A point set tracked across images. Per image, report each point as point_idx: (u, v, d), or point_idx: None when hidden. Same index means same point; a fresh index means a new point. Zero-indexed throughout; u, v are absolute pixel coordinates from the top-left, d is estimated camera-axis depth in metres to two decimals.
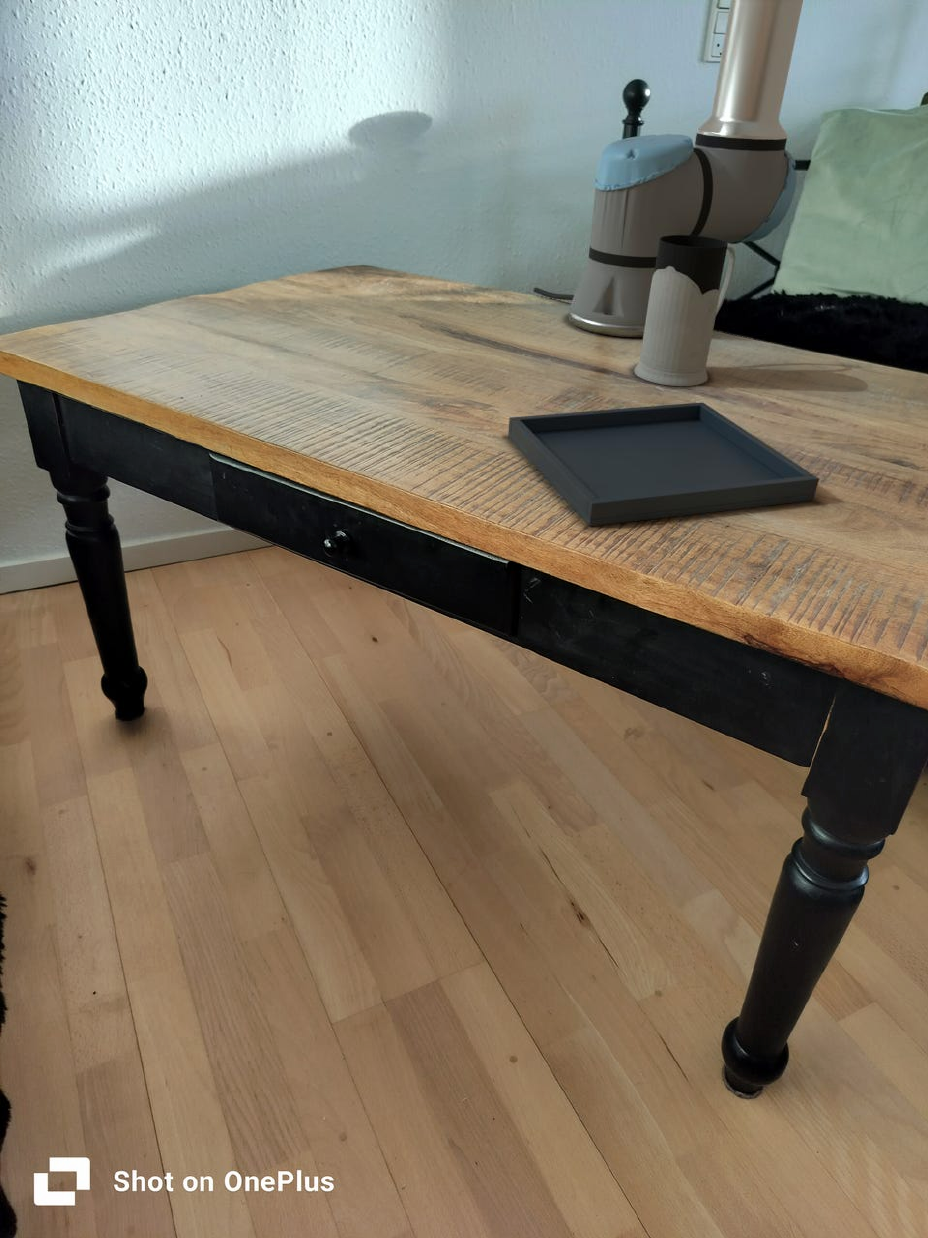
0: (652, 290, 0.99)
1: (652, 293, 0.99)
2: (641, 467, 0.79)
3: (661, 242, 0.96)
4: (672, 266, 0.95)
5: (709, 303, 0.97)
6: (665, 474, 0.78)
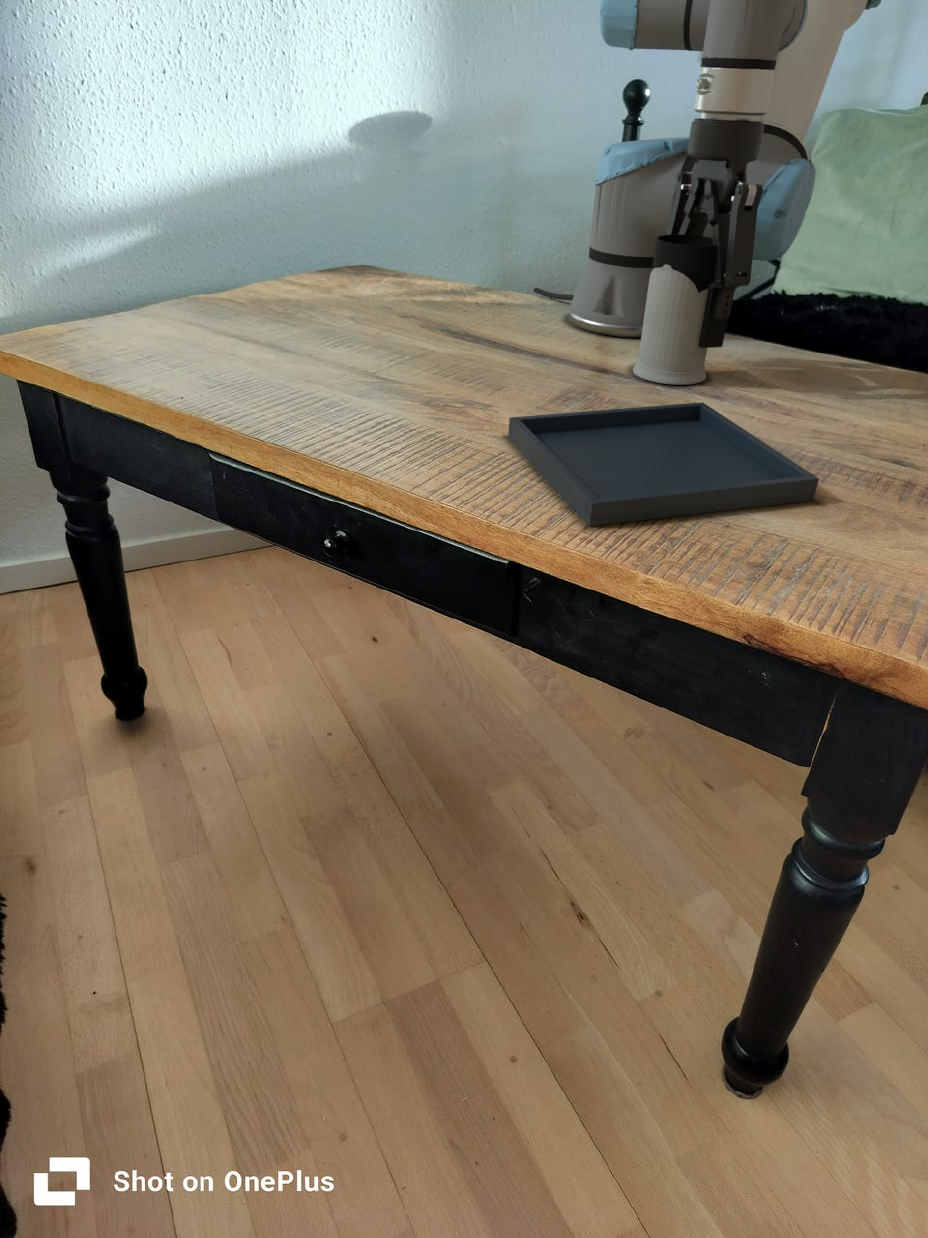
0: (649, 289, 0.99)
1: (649, 292, 0.99)
2: (641, 467, 0.79)
3: (658, 241, 0.96)
4: (669, 264, 0.96)
5: None
6: (665, 474, 0.78)
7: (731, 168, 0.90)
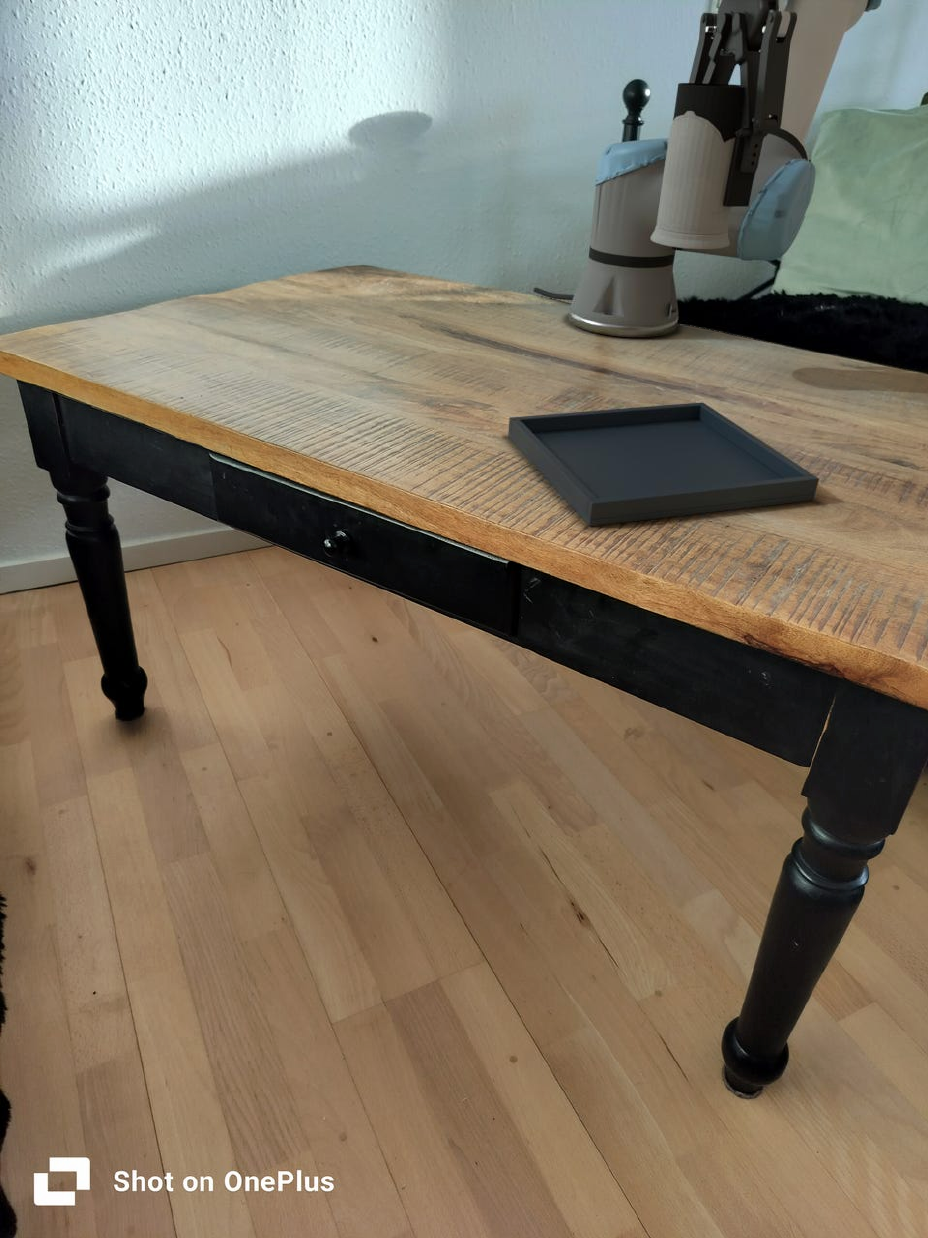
0: (670, 142, 0.92)
1: (670, 145, 0.92)
2: (641, 467, 0.79)
3: (680, 85, 0.89)
4: (692, 110, 0.88)
5: None
6: (665, 474, 0.78)
7: None
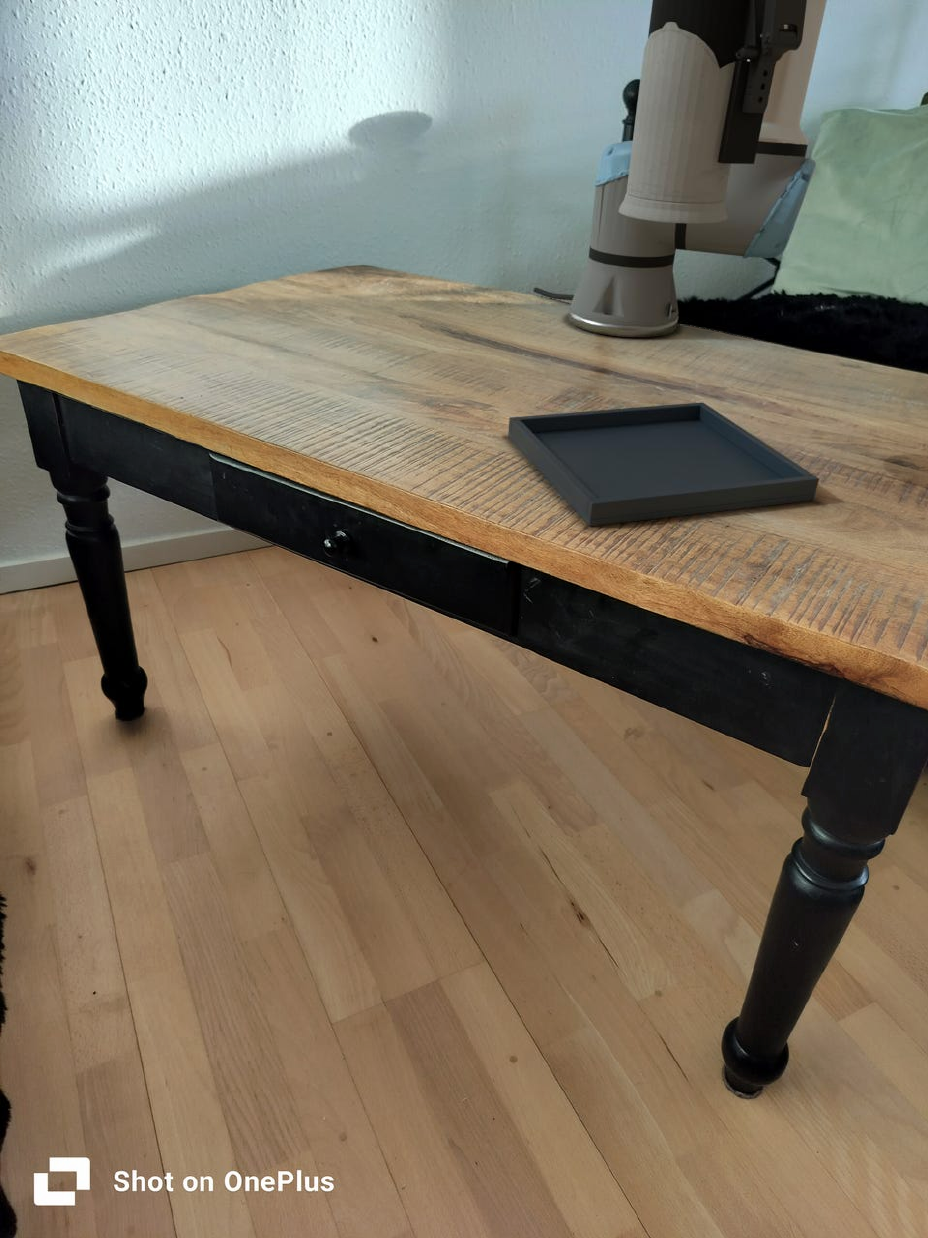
0: (643, 72, 0.65)
1: (643, 76, 0.65)
2: (641, 467, 0.79)
3: None
4: (674, 21, 0.61)
5: None
6: (665, 474, 0.78)
7: None
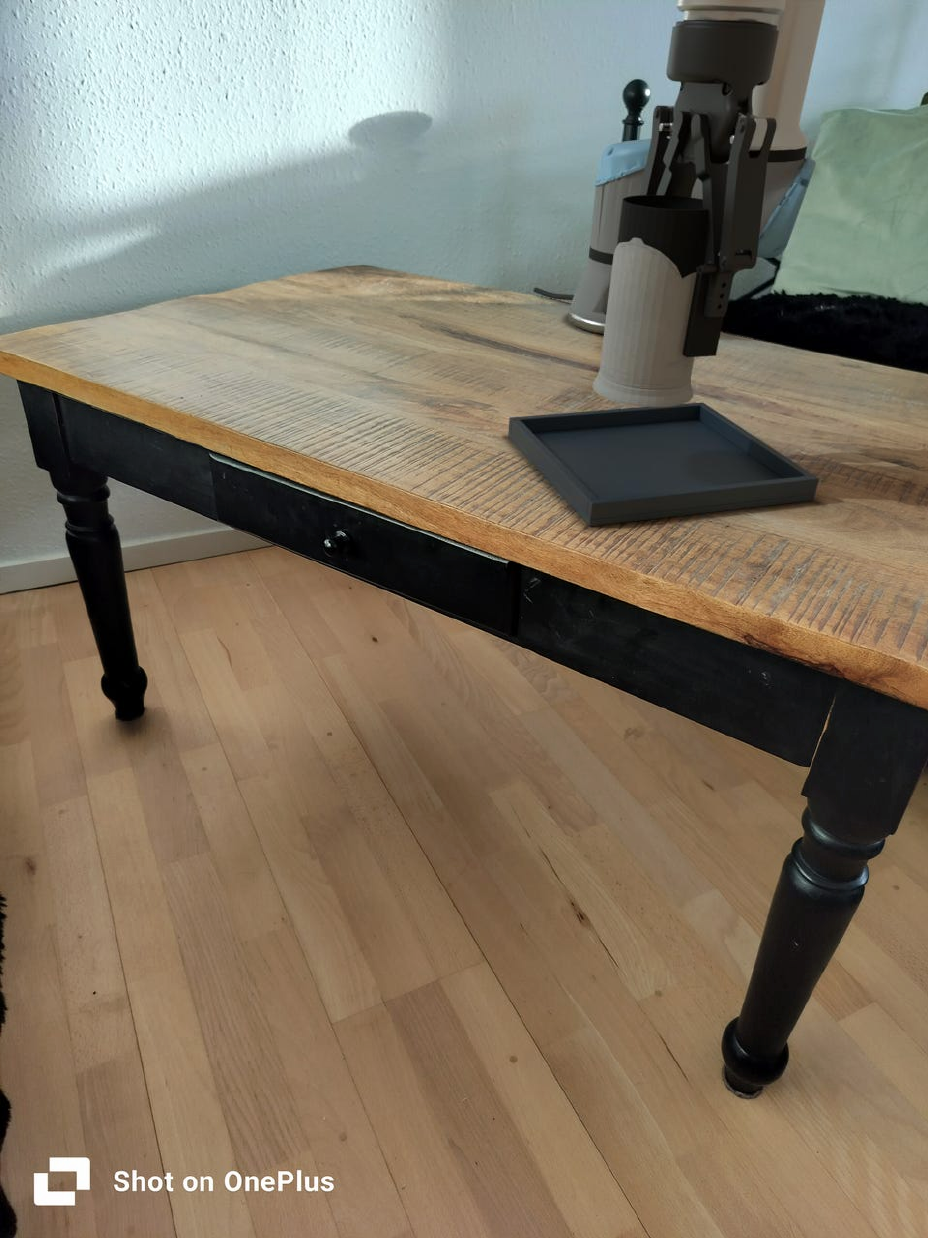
0: (613, 273, 0.70)
1: (613, 277, 0.70)
2: (641, 467, 0.79)
3: (624, 203, 0.67)
4: (639, 237, 0.66)
5: (693, 291, 0.68)
6: (665, 474, 0.78)
7: (730, 93, 0.61)
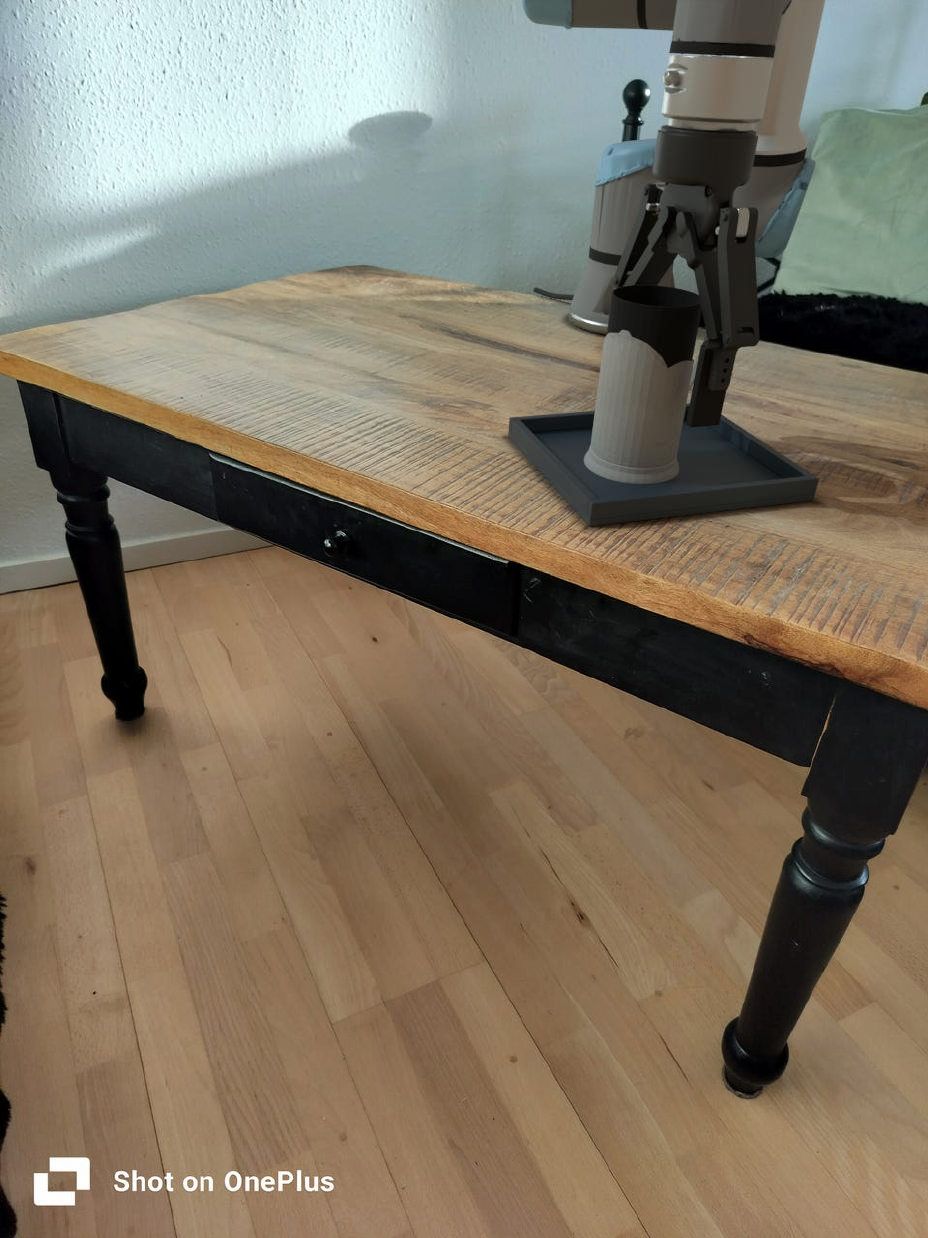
0: (603, 359, 0.74)
1: (603, 363, 0.74)
2: None
3: (613, 297, 0.71)
4: (628, 330, 0.70)
5: (678, 379, 0.72)
6: None
7: (712, 196, 0.65)
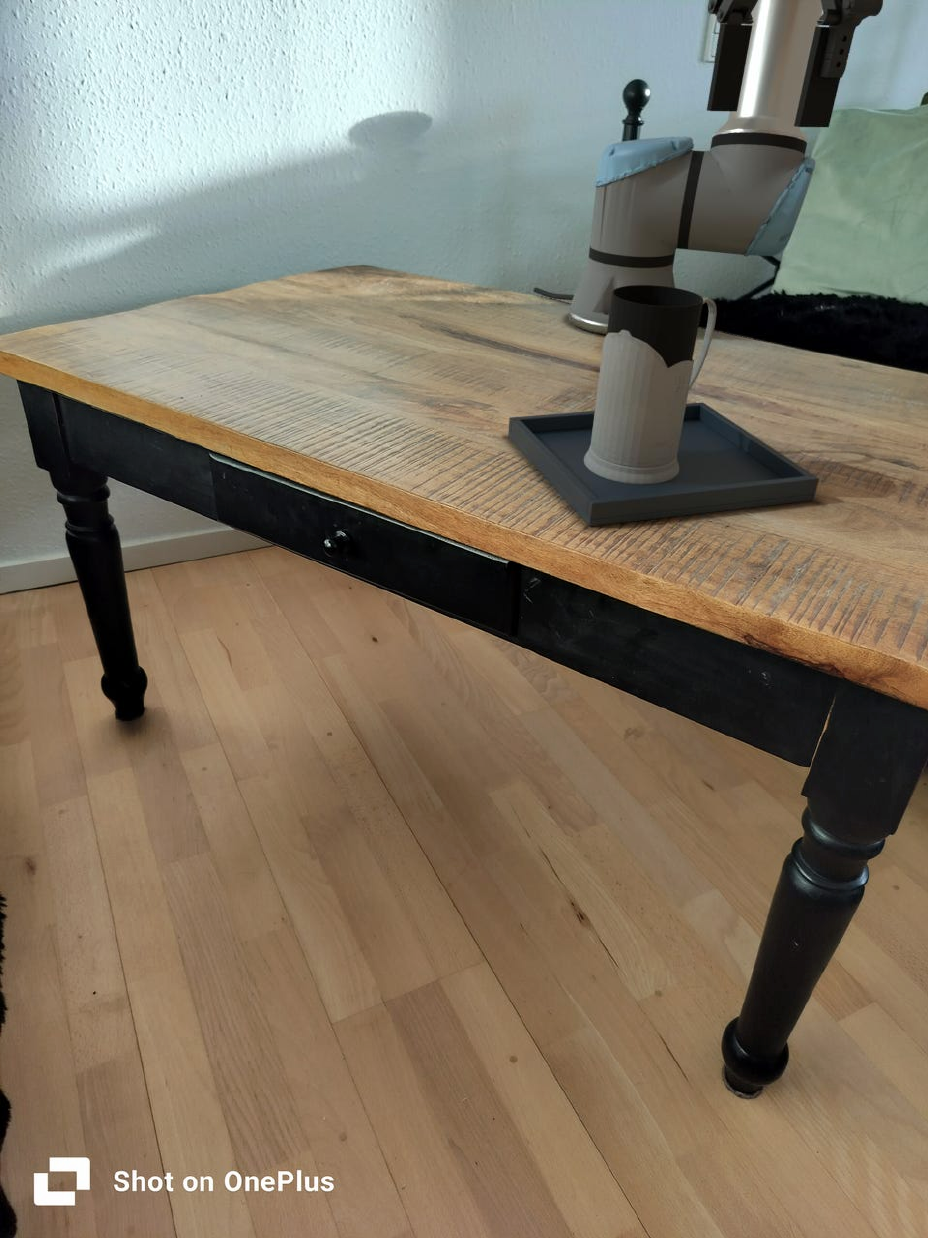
0: (603, 359, 0.74)
1: (603, 363, 0.74)
2: None
3: (613, 297, 0.71)
4: (628, 330, 0.70)
5: (678, 378, 0.72)
6: None
7: None
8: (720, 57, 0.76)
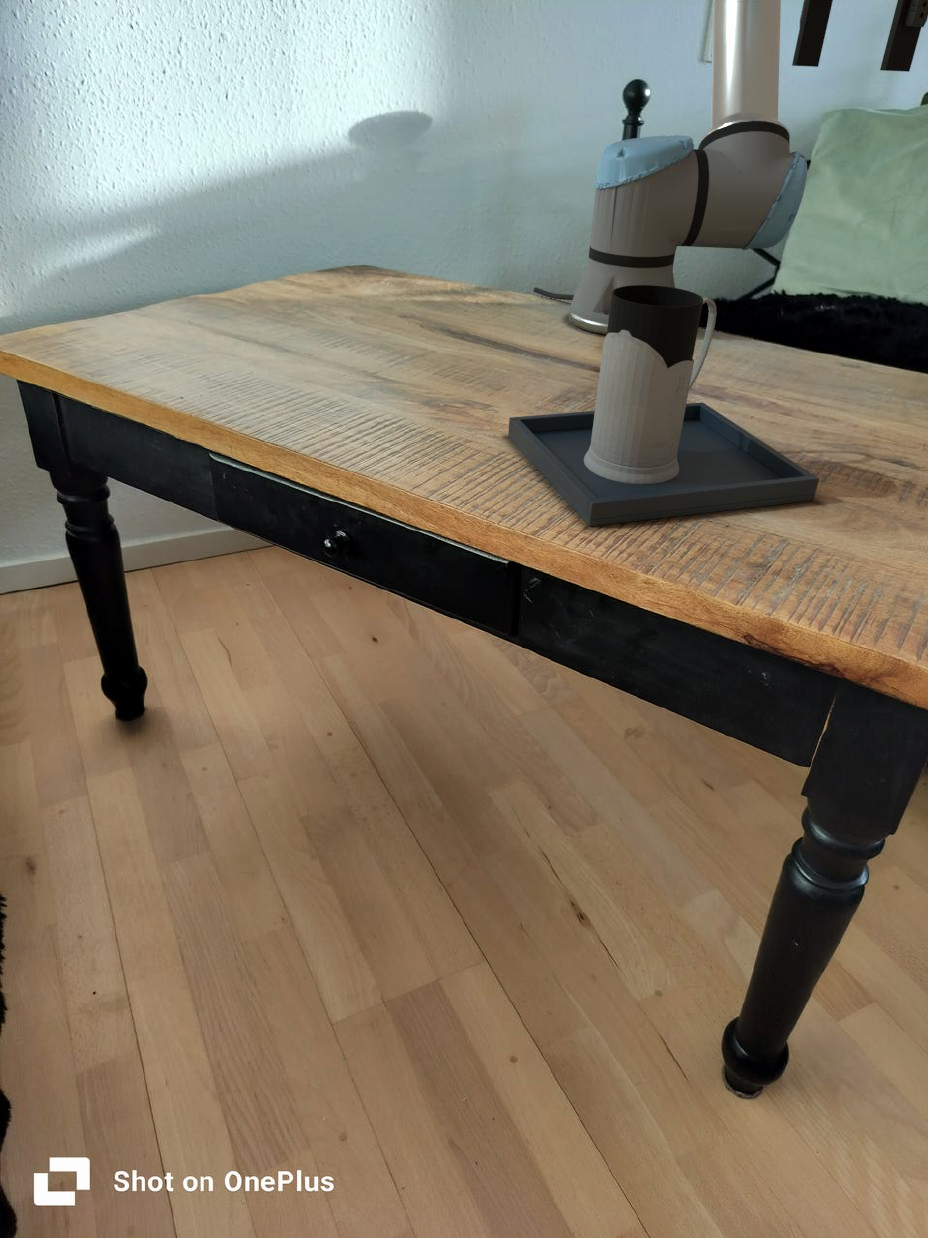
0: (603, 359, 0.74)
1: (603, 363, 0.74)
2: None
3: (613, 297, 0.71)
4: (628, 329, 0.70)
5: (678, 378, 0.72)
6: None
7: None
8: (806, 18, 0.88)
